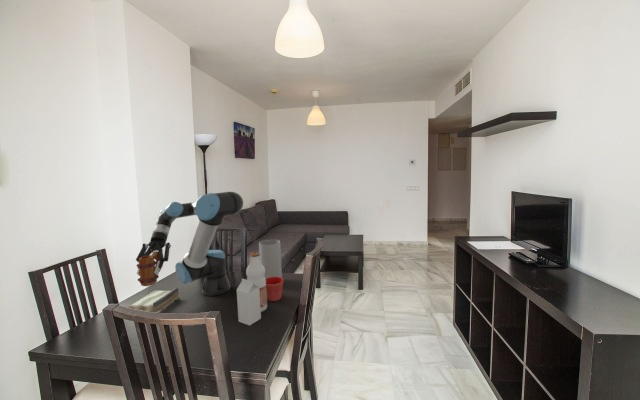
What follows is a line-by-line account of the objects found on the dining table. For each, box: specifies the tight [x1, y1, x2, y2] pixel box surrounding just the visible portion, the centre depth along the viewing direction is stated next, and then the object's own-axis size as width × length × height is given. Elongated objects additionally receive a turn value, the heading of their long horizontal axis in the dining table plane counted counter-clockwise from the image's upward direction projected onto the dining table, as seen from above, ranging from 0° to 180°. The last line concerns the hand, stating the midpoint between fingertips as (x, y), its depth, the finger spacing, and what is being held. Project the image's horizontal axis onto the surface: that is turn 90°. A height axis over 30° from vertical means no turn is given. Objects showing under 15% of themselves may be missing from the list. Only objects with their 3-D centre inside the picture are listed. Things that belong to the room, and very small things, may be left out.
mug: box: [136, 251, 162, 287], centre depth 147 cm, size 15×8×15 cm, turn 169°
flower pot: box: [266, 277, 284, 302], centre depth 154 cm, size 11×11×10 cm
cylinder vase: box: [258, 239, 283, 279], centre depth 173 cm, size 12×12×25 cm
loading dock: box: [128, 287, 180, 312], centre depth 149 cm, size 14×18×6 cm
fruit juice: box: [245, 251, 268, 313], centre depth 141 cm, size 9×9×28 cm
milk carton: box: [236, 278, 262, 326], centre depth 131 cm, size 7×7×19 cm
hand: (147, 274), depth 144 cm, fingers closed on mug, 8 cm apart
